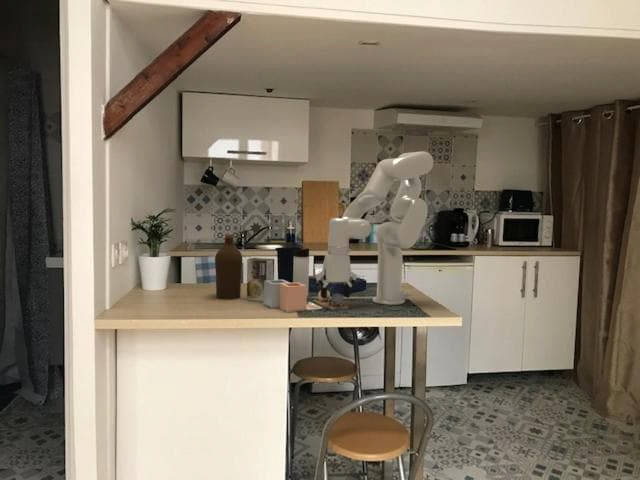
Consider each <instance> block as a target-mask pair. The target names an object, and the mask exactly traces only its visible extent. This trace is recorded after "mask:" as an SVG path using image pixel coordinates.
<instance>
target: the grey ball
mask: <svg viewBox="0 0 640 480" xmlns="http://www.w3.org/2000/svg"><path fill="white" fill-rule="evenodd" d="M330 299H331V302H332V303H333V304H334V305H335V304H336V305H337V306H338V305H341V304H344V295H342V294H341V293H339V292H335V293H334V294H332V295H331V296H330Z"/></svg>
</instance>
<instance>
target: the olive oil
mask: <svg viewBox="0 0 640 480" xmlns="http://www.w3.org/2000/svg"><path fill="white" fill-rule="evenodd" d="M214 262H215V264H214V266H215V295H216V296H215V297H216V298H217V299H221V300H235V299H237V300H238V299H239V298H241V289H242V287H241V286H242V271H243V270H242V269H243V255H242V253H241V251H240V249H238V248H237V247H236V245H235V244H234V234H233V233H226V234H225V235H224V244H223V245H222V246H221V247H220V248H219V250H217V252H216V254H215V257H214Z"/></svg>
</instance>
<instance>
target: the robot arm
mask: <svg viewBox="0 0 640 480" xmlns="http://www.w3.org/2000/svg"><path fill="white" fill-rule="evenodd" d="M433 166H434V158H433V157H432V155H431V154H430V153H429V152H428V151H415V152H404V153H402V154H400V155H398V157H397V158H396V157H395V158H386V159H385V158H384V159H383V160H381V161H380V162H378V163H377V165H376V167H375V169H374V171H373V173H372V175H371V177H370V178H369V180H368V182H367V184H366V186H365V188H364V190H363V191H362V192H361V193H360V194H359V195H357V196H356V198H355V199H354V200H353V201H352V202H351V203H350V204H349V205H348V206H347V207H346V209H345V211H344V212H343V214H342V216H341V218H340V217H332V218H330V220H329V224H328V225H329V226H328V228H329V229H328V240H327V241H328V242H327V243H328V244H327V254H325V255H324V260H323V263H322V269H321V270H322V271H320V272H319V273H316V274H315V275H314V278H315V280H316V283H317V284H318V285H319V287H320V291H321V297H322V298H324V299H326V298H327V290H328V288H327V286H328V285H329V284H330V283H335V284H336V283H344V286H343V298H344V297H345V298H346V299H347V298H350V295H351V288H352V286H353V285H354V283H355V282H356V280H357V278H358V274H356V273H354V272H353V271H352V270H351V259H350V255H349V253H351V252H352V249H351V248H350V247H349V246H350V244H349V243H350V238H352V239H357V240H365V238H368V237H369V236H370V235H371V233H372V225H371V223H370V222H369V221H368V220H366V219H363V218H362V217H363V216H364V214H365V213H367V212H368V211H370V210H371V209H373V208H374V207H377V206H379V205H380V204H382V203H383V202H384V201H385V199H386V197H387V196H388V193H389V191H390V189H391V188H392V186H393V183H394V182H400V185H399V188H398V190H397V193H396V195H395V197H394V200H393V202H392V204H391V207H390V211H389V214H390V217H391V218H392V219H393V220H395V221H386V222H383V223H382V224H380V225H379V226H378V227H377V230H376V243H377V252H378V253H377V254H378V255H377V276H376V277H377V278H376V280H377V281H376V296H374V297H372V302H373V303H374V304H375V303H376V304H380V305H387V306H389V305H390V306H391V305H392V306H393V305H398V306H399V305H404V303H405V302H406V300H405V299H404V297H410V296H411V295H412V292H411V291H404V290H402V277H403V252H402V249H410V248H412V247H413V246H414V245H415V244H416V242H417V240H418V238H419V236H420V234H421V231H422V230H423V227H424V225H425V223H426V220H427V217H428V212H429V211H428V206H427V205H428V204H427V202H426V201H425V200H423V198H419V197H420V195H421V192H422V182H421V180H420V176H423V175H426V174H428V173H429V172H430V171H431V170H432V169H433ZM321 279H322V280H321Z"/></svg>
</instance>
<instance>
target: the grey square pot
mask: <svg viewBox="0 0 640 480" xmlns="http://www.w3.org/2000/svg"><path fill="white" fill-rule="evenodd" d="M280 283H291V282H289V281H288V280H285V279H274V280H266V281H264V302H263V305H265V306H266V307H268V308H269V309H280V308H279V290H280Z"/></svg>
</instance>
